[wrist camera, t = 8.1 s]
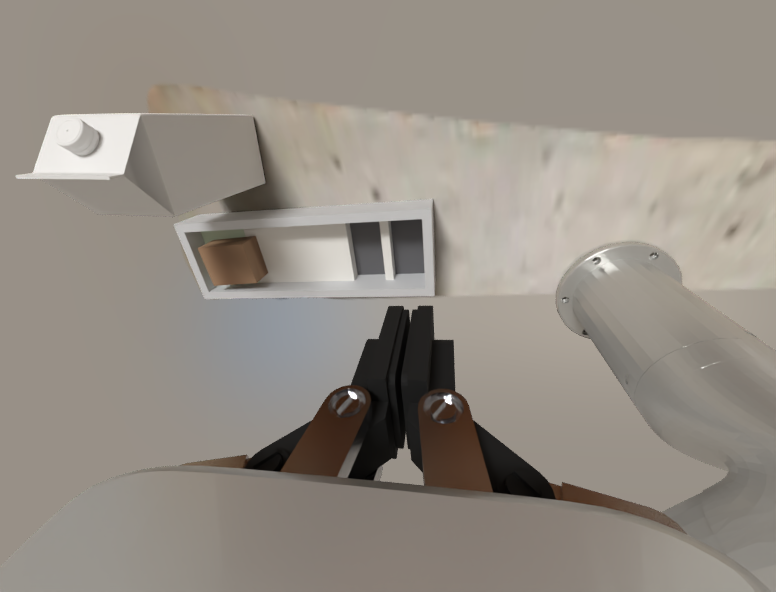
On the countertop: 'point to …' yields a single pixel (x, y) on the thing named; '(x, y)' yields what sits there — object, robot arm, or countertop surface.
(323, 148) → the countertop surface
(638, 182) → the countertop surface
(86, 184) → the milk carton
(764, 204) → the countertop surface
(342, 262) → the box
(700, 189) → the countertop surface
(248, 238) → the block
